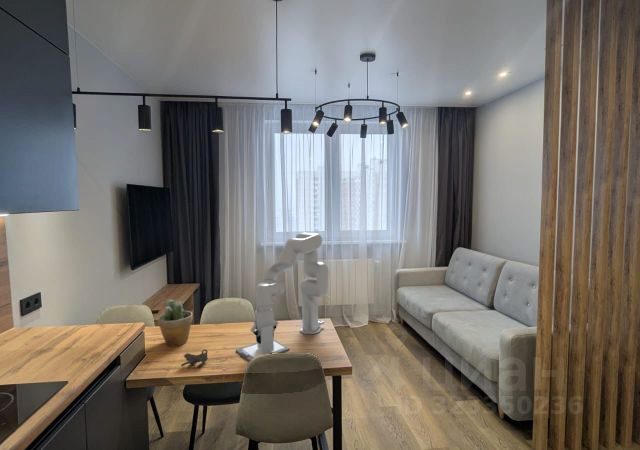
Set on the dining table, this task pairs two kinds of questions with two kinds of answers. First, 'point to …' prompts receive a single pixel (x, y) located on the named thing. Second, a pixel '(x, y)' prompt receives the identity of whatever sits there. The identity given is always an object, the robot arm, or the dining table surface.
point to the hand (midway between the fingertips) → (265, 340)
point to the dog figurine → (195, 358)
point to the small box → (266, 339)
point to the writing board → (253, 351)
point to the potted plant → (175, 323)
